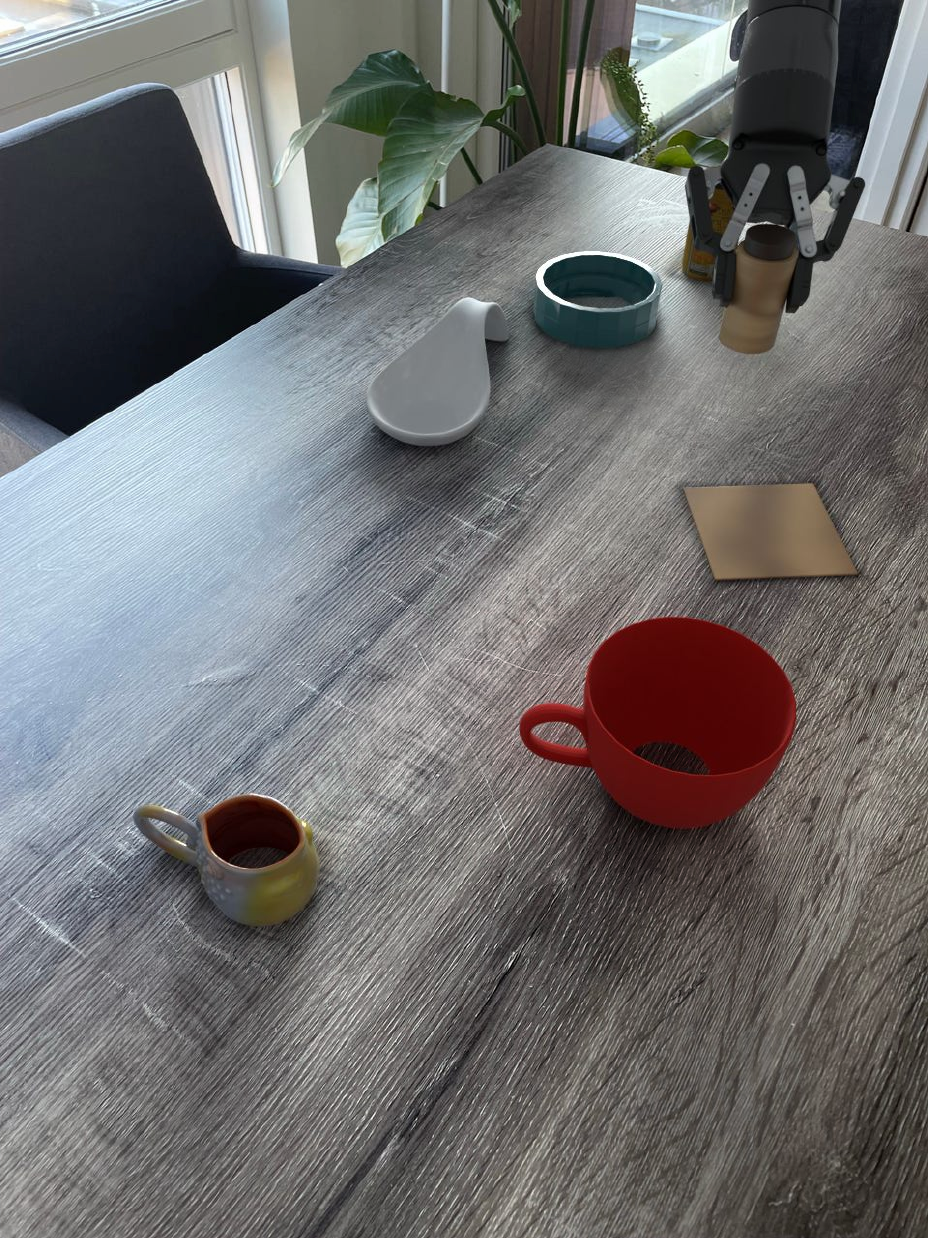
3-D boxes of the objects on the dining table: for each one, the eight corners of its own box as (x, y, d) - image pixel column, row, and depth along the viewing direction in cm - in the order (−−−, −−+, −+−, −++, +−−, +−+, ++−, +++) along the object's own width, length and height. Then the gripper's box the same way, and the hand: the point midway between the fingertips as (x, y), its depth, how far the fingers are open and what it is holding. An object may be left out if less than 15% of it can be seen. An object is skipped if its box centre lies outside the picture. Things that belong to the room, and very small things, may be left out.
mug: (341, 859, 64) (332, 801, 59) (290, 953, 60) (276, 898, 55) (180, 801, 67) (160, 740, 62) (120, 886, 63) (93, 829, 58)
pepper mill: (766, 324, 85) (792, 220, 78) (781, 353, 81) (810, 247, 75) (712, 325, 84) (734, 221, 78) (725, 355, 81) (749, 248, 75)
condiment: (687, 256, 123) (706, 156, 115) (755, 271, 121) (778, 170, 112) (668, 281, 119) (686, 179, 110) (738, 298, 116) (761, 194, 108)
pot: (642, 291, 117) (648, 250, 113) (666, 352, 108) (674, 310, 104) (526, 293, 116) (529, 252, 113) (541, 356, 107) (544, 313, 103)
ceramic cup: (504, 718, 72) (510, 622, 65) (733, 706, 73) (764, 611, 66) (524, 878, 63) (534, 788, 56) (785, 862, 64) (827, 772, 57)
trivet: (810, 491, 91) (813, 482, 90) (855, 582, 83) (858, 573, 82) (680, 496, 91) (682, 487, 90) (713, 588, 82) (715, 579, 81)
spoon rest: (464, 476, 92) (465, 410, 87) (347, 449, 95) (342, 384, 90) (538, 349, 108) (542, 287, 103) (436, 329, 110) (435, 267, 105)
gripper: (698, 58, 75) (672, 285, 76) (893, 69, 74) (866, 300, 74) (686, 108, 83) (662, 314, 83) (863, 119, 81) (838, 328, 82)
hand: (758, 306), depth 79 cm, fingers closed on pepper mill, 4 cm apart
